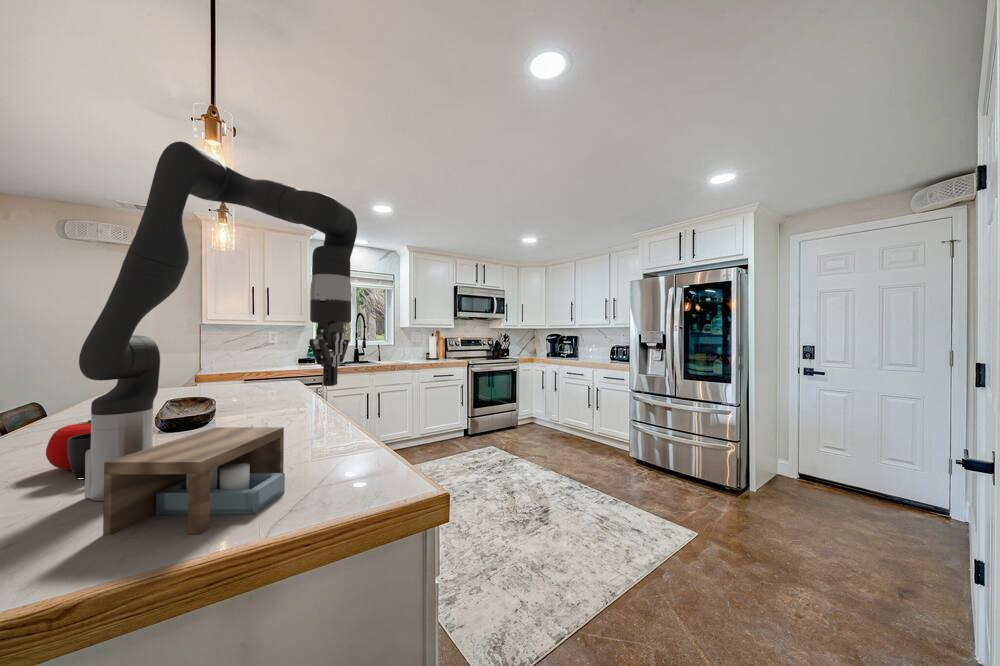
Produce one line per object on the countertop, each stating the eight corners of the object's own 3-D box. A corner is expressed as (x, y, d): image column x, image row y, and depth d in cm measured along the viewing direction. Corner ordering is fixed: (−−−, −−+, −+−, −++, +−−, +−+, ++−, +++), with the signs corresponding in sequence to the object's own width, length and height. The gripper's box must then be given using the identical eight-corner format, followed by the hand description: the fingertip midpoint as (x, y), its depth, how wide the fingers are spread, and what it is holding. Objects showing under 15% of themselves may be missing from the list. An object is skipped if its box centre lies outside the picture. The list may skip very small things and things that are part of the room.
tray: (155, 514, 68) (156, 476, 68) (199, 492, 78) (199, 459, 78) (253, 514, 68) (253, 476, 68) (284, 492, 78) (284, 459, 78)
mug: (82, 487, 81) (82, 443, 81) (60, 478, 86) (61, 437, 86) (132, 474, 88) (132, 434, 88) (109, 467, 93) (110, 429, 93)
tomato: (27, 477, 86) (28, 427, 86) (83, 458, 100) (84, 415, 100) (90, 474, 88) (91, 426, 88) (137, 456, 101) (138, 414, 102)
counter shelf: (103, 534, 61) (104, 462, 61) (213, 479, 85) (214, 427, 85) (200, 534, 61) (200, 462, 61) (283, 479, 85) (283, 427, 85)
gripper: (327, 302, 81) (326, 381, 80) (294, 295, 67) (293, 390, 67) (362, 302, 81) (361, 381, 80) (335, 295, 67) (334, 390, 67)
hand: (330, 385), depth 74 cm, fingers closed
